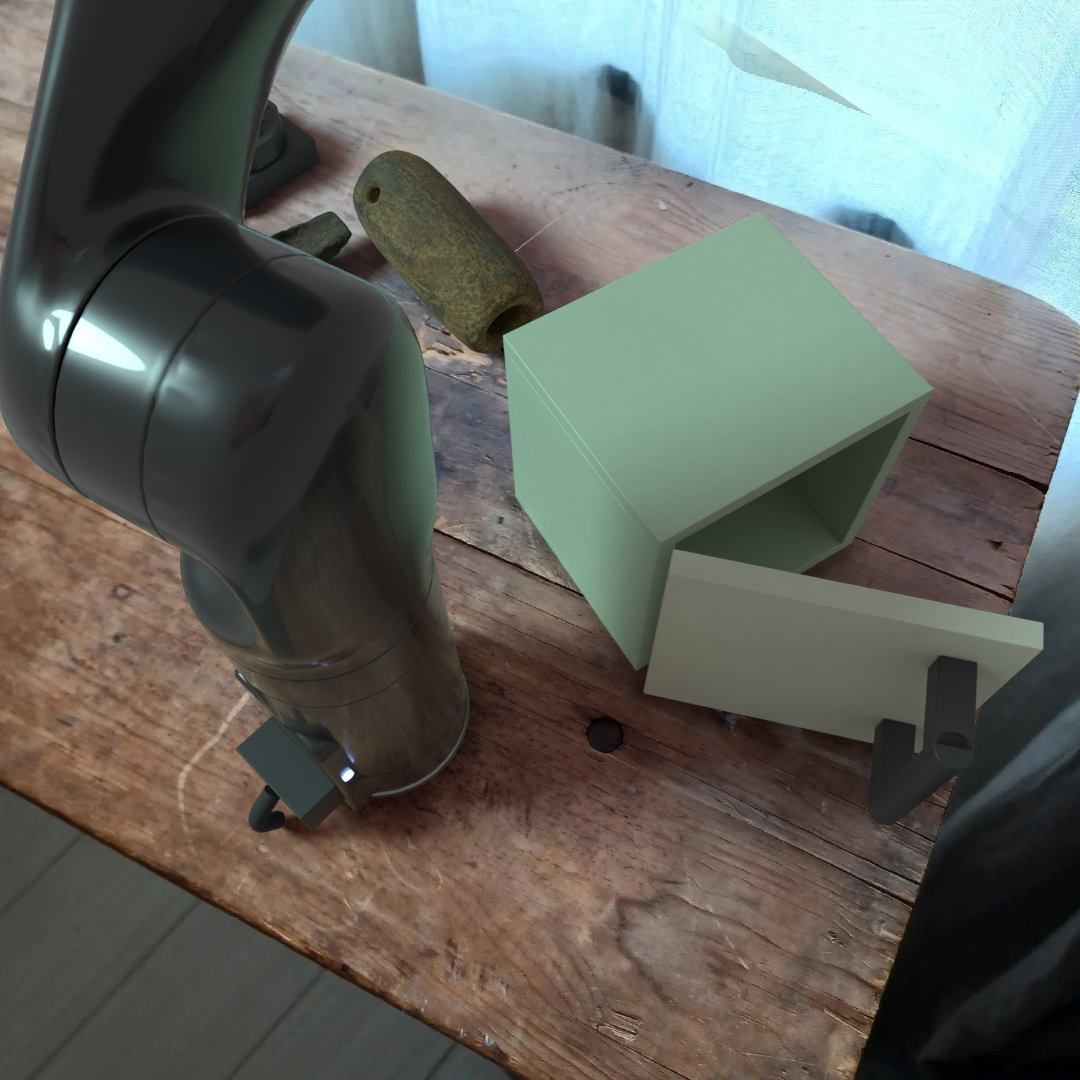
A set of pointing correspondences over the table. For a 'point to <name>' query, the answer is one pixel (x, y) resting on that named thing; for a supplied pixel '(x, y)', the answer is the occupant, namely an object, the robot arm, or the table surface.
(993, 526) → the table surface
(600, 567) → the pale green box
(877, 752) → the door
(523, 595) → the table surface
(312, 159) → the control block
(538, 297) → the stone weight
